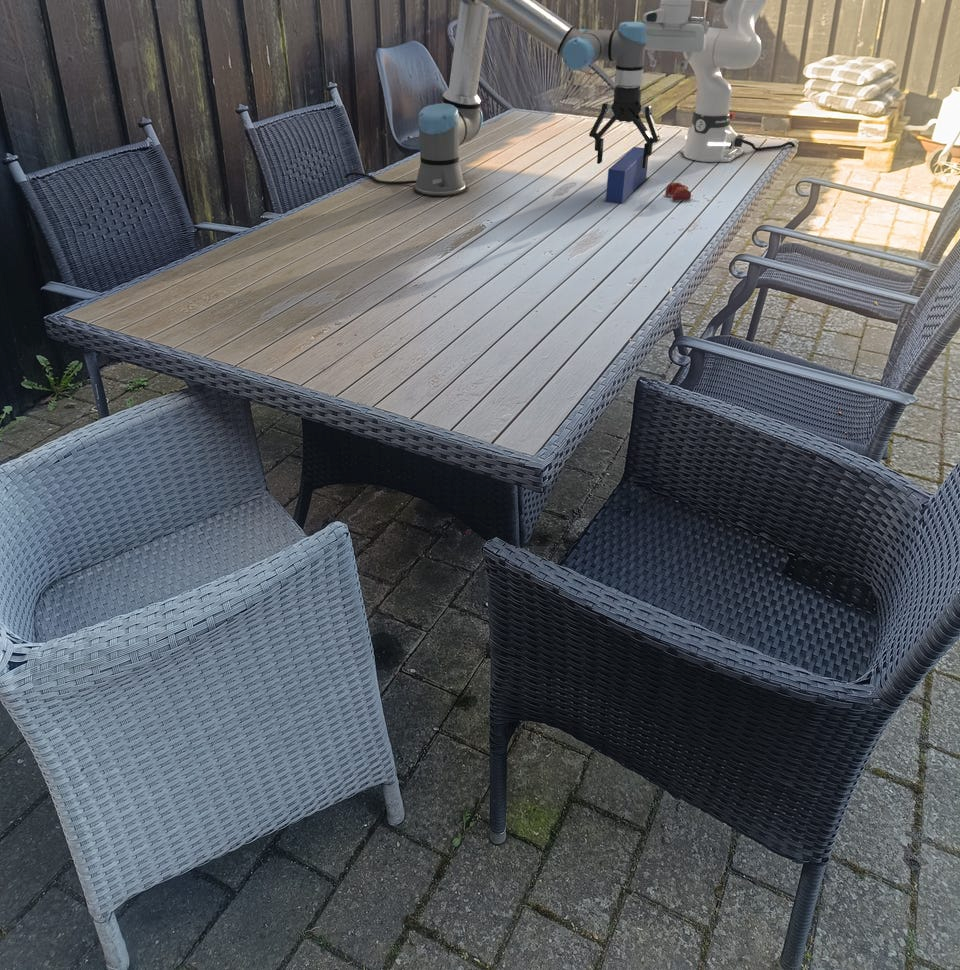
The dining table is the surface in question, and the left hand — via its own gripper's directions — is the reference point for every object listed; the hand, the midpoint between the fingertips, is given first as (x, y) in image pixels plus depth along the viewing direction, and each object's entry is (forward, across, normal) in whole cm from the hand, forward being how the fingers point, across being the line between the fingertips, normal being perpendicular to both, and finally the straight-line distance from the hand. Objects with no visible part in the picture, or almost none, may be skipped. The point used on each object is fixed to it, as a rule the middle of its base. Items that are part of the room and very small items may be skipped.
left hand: (621, 164), depth 246 cm
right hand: (-22, -4, -30) cm, 37 cm away
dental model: (+10, -16, -7) cm, 20 cm away
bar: (+10, 0, -10) cm, 14 cm away
